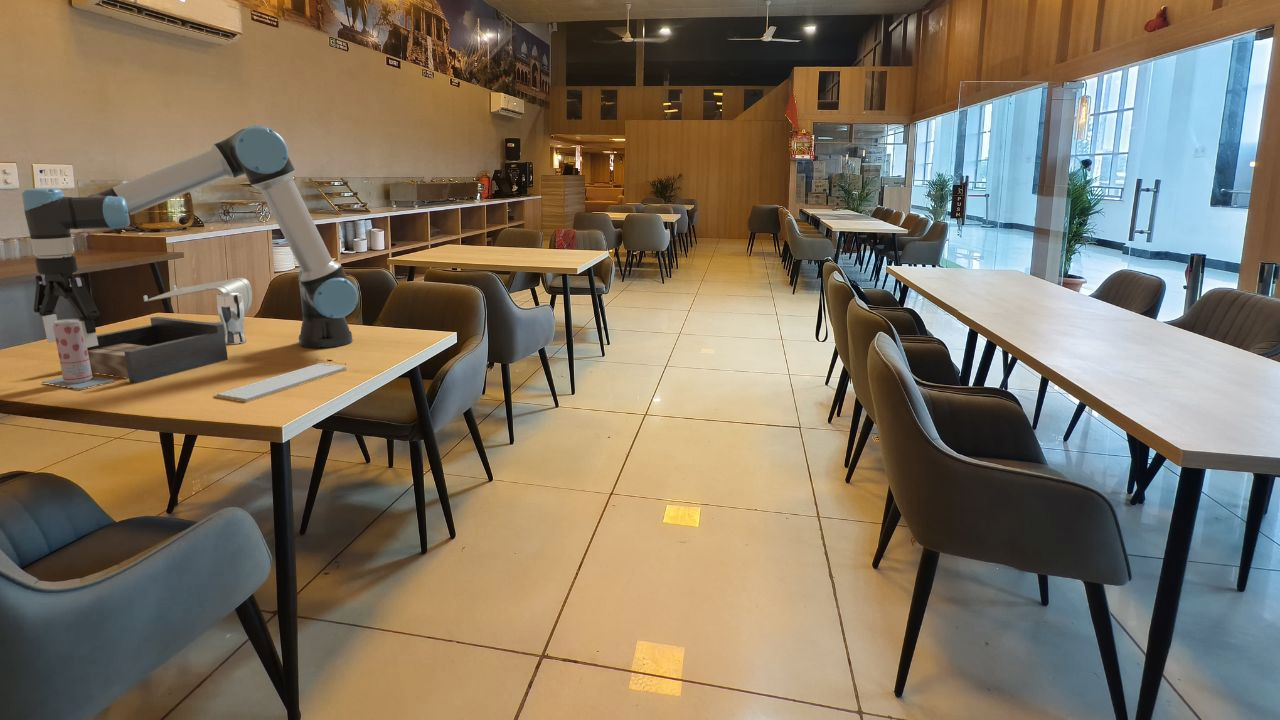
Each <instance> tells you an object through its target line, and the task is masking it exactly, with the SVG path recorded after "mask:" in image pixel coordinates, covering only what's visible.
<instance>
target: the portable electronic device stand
mask: <svg viewBox="0 0 1280 720" xmlns="http://www.w3.org/2000/svg"><path fill="white" fill-rule="evenodd" d="M172 289H173V290H169V291H167V292H164V293H162V294H158V295H156V296H153V297H150V298H148V295H146V294H145V295H143V302H144V303H145V302H150V301H156V300H157V301H158V300H162V299H167V298H171V297H178V296H184V295H185V296H186V295H188V294H189V295H190V294H194V293H201V292H206V291H212V290H217V291H220V293H226V292H240V293H241V294H242V299H243V304H244V316H245V315H246V314H247V312H248V311H249V309H250V308H251V306H252V302H253V291H252V285H251V283H250V281H249V280H248V279H247V278H244V277H235V278H230V279H224V280H219V281H218V280H217V281H213V282H206V283H202V284H196V285H191V286H184V287H178V286H177V285H176V284H175V285H172ZM206 322H207V323H216V324H222V323H221V320H220V321H206Z"/></svg>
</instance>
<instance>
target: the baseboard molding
mask: <svg viewBox="0 0 1280 720" xmlns="http://www.w3.org/2000/svg"><path fill="white" fill-rule="evenodd" d="M319 361H322V362H323V359H322V360H321V359H319ZM316 362H318V358H316V359H315V361H312V364H314V365H309V366H305V367H302V368H299V369H296V370H293V371H290V372H285V373H283V374H279V375H276V376H272V377H269V378H266V379H263V380H260V381H256V382H253V383H250V384H246V385H243V386H239V387H236V388H233V389H232V388H231V389H229V390H226V391H223V392H219V393H217V394H214V395H213V396H214V397H213V396H212V397H213V398H217V397H220V398H219V399H223V398H226V399H225V400H229V399H233V400H232V401H234V400H239V401H238V402H240V401H245V402H244V403H247V402H246V401H249V402H251V401H250V400H252V401H254V400H253V399H255V400H257V399H256V398H258V399H260V398H259V397H261V398H264V397H267V396H266V395H268V396H270V395H269V394H271V395H273V394H272V393H274V394H276V393H275V392H277V393H279V392H278V391H280V392H282V391H281V390H283V391H285V390H284V389H286V390H288V389H287V388H289V389H291V388H290V387H292V388H294V387H293V386H295V387H297V386H296V385H298V386H300V385H299V384H301V383H304V382H307V381H311V380H314V379H317V378H320V377H323V376H326V375H329V376H331V375H330V374H332V375H334V374H333V373H336V372H339V371H342V372H344V371H343V370H345V371H347V366H346V365H347V363H343V362H341V363H340V365H336V364H337V362H334V359H326V362H329V363H330V362H333V363H335V365H334V364H327V363H322V362H320V363H316ZM341 364H342V365H341ZM339 373H340V372H339ZM336 374H337V373H336ZM326 377H327V376H326ZM323 378H324V377H323ZM320 379H321V378H320ZM317 380H318V379H317ZM314 381H315V380H314ZM311 382H312V381H311ZM263 396H264V397H263Z"/></svg>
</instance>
